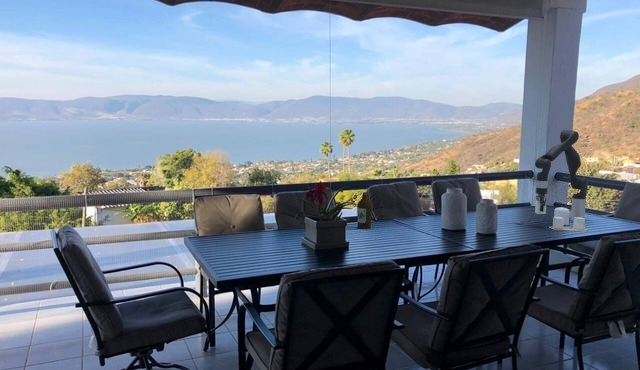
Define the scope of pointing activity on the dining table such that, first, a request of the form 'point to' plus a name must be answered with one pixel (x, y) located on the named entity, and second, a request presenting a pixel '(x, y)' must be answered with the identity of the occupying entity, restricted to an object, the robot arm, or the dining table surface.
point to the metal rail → (565, 228)
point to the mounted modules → (578, 224)
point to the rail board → (570, 229)
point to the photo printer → (562, 214)
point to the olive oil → (364, 212)
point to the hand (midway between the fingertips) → (540, 210)
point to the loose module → (537, 208)
